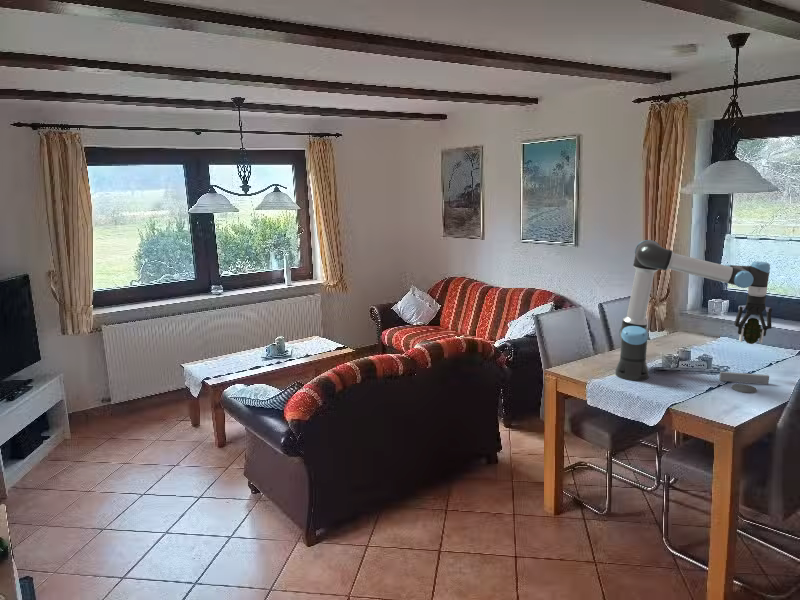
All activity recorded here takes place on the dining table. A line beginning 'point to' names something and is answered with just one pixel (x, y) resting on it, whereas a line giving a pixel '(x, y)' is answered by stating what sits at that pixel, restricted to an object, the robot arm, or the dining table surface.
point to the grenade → (752, 331)
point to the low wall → (744, 377)
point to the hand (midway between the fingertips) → (750, 341)
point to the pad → (744, 388)
